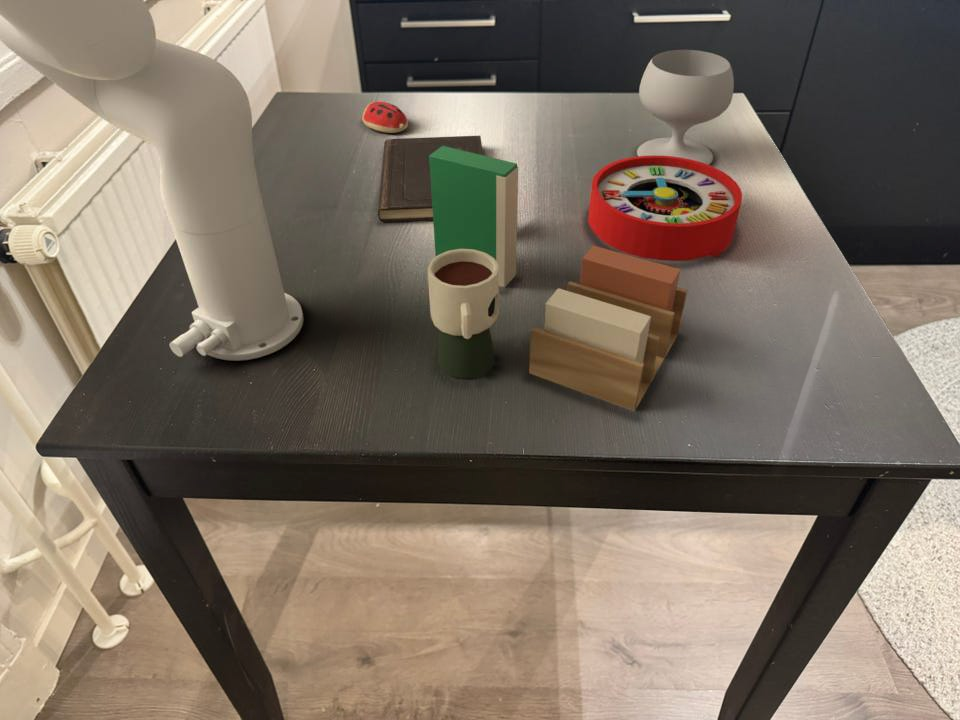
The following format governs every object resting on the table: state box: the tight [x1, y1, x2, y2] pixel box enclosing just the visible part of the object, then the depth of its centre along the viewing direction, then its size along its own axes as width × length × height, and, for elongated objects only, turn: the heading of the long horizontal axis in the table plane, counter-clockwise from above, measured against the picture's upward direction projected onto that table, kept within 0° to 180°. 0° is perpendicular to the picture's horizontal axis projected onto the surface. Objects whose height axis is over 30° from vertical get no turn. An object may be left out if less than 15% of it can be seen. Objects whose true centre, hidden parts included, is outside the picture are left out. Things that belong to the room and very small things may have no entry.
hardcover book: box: [377, 135, 484, 223], centre depth 112 cm, size 16×23×2 cm
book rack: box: [528, 281, 689, 412], centre depth 79 cm, size 14×12×7 cm
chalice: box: [636, 49, 735, 165], centre depth 113 cm, size 14×14×15 cm
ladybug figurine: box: [361, 101, 409, 134], centre depth 128 cm, size 7×10×4 cm
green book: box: [429, 146, 519, 288], centre depth 88 cm, size 3×10×16 cm, turn 61°
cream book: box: [543, 287, 651, 363], centre depth 75 cm, size 3×10×9 cm, turn 60°
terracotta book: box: [579, 245, 681, 312], centre depth 81 cm, size 3×10×9 cm, turn 61°
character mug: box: [427, 249, 500, 380], centre depth 76 cm, size 11×7×13 cm, turn 4°
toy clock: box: [587, 155, 743, 262], centre depth 100 cm, size 20×6×20 cm
